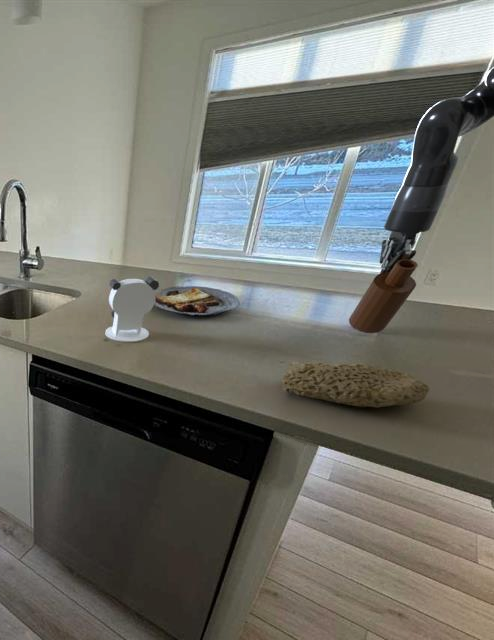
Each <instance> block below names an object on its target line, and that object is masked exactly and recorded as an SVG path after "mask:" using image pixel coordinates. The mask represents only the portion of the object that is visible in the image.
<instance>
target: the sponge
mask: <svg viewBox="0 0 494 640" xmlns="http://www.w3.org/2000/svg"><path fill="white" fill-rule="evenodd" d="M281 382H282V389H283V390H284V391H285V392H287V393H289V394H292V395H293V394H294V395H297V396H301V397H306V398H309V399H317V400H323V401H326V402H331V403H337V404H341V405H347V406H352V407H360V408H366V407H367V408H368V407H371V408H383V407H392V406H393V407H394V406H404V405H405V406H407V405H412V404H415V403H419V402H421V401H423V400H424V399H425V398H426V397H427V395H428V393H429V392H430V386H429V385H427V384H425V383H424V382H422V381H421V380H420V379H417V378H416V377H415V376H414V375H411V374H409V373H405V372H401V371H398V370H393V369H392V368H385V367H381V366H375V365H370V364H362V363H357V362H356V363H355V362H353V363H339V364H335V365H331V364H327V363H326V362H297V361H292V362H291V363H290V367H289V370H286V371H284V373H283V378H282V381H281Z"/></svg>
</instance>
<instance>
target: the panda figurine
mask: <svg viewBox="0 0 494 640" xmlns="http://www.w3.org/2000/svg"><path fill="white" fill-rule="evenodd" d="M109 286H110V287H111V290H110V292H109V296H108V303H109V306H110V307H111V309H112V311H111V313H110V314H111V317H112V318H113V321H112V322H113V323H112V326H108V328H106V329H105V332H104V333H105V336H106V337H107V338H108V339H110V340H113V341H115V342H122V343H137V342H142V341H145V340H147V339H148V338H149V336H150V332H149V330H148V329H146V328H144V327H142V325H143V321H144V317H145V315H147V314H148V313H149V312H150V311H151V310H152V309H154V307H155V305H154V304H155V300H156V297H155V293H154V292H155V291H156V290H158V289H159V287H160V283H159V281H158V280H157V279H155V278H154V277H153V276H148V277H146V278H145V280H143V279H140V278H126V279H122V280H120V281H118V279H116V278H113V279H111V280H110V281H109Z"/></svg>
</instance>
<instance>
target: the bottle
mask: <svg viewBox="0 0 494 640" xmlns="http://www.w3.org/2000/svg"><path fill="white" fill-rule="evenodd" d="M417 267H418V262H416V261H415V260H413V259H411V260H409V259H402V260H399V261H397V262H396V264H395V265H394V267H393V269H392V270H391V272H385V273H381V274H380V273H379V274H377V275H375V277H374V278H373V279H372V282H371V283H370V285H369V286H368V288H367V289H366V291H365V292H364V294H363V295H362V297H361V299H360V300H359V302H358V304H356V307H355V308H354V309H353V312H352V313H351V315H350V316H349V319H348V323H349V325H350V326H351V327H352V328H353V329H355V330H356V331H358V332H362V333H367V334H377V333H380V332H382V331H383V330H385V329H386V327H387V326H388V325H389V324H390V322H391V321H392V320H393V318H394V317H395V316H396V314H397V313H398V311H399V310H400V309H401V307H402V306H403V305H404V303H405V302H406V301H407V299H408V298H409V297H410V295H411V294H412V293H413V291H414V290H415V288H416V286H417V282H416V280H415V279H414V278H412V275H413V273H414V272H415V271H416V269H417Z"/></svg>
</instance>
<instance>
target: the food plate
mask: <svg viewBox="0 0 494 640" xmlns="http://www.w3.org/2000/svg"><path fill="white" fill-rule="evenodd" d="M154 293H155V297H156V300H155V304H154V307H156V308H157V309H159V310H162V311H166V312H170V313H171V312H172V313H175V314H177V315H186V316H187V317H188V316H194V315H197V316H200V317H201V316H212V315H213V316H216V315H217V314H221V313H224V312H227V311H231V310H237V309H239V308H240V306H241V301H240V299H239V298H238V297H237V296H236V295H235V294H234V293H233V294H232V292H229V291H225V290H223V289H220V288H214V287H208V286H199V285H189V286H185V285H184V286H180V285H177V286H172V287H166V288H163V289H159V290H157V291H156V290H155V291H154Z"/></svg>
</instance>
